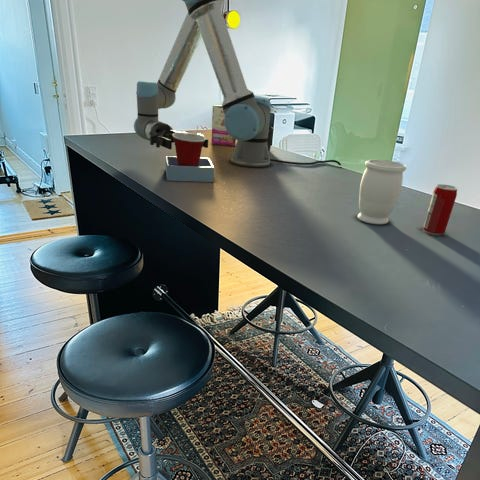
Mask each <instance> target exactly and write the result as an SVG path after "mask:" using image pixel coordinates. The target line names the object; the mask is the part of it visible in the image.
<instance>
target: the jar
mask: <svg viewBox="0 0 480 480" xmlns="http://www.w3.org/2000/svg"><path fill="white" fill-rule="evenodd" d="M364 165H365V169H364V172H363V174H362V176H361V180H360V185H359V197H358V208H359V211H360V212H359V213H358V214H357V218H358V220H359V221H362V222H363V223H366V224H370V225H385V224H388V223H389V221H390V219H389V216H390V214H391V213H392V212H393V210H394V208H395V206H396V203H397V201H398V199H399V196H400V194H401V191H402V185H403V178H404V176H403V173H404V172H405V171H406V170H407V165H406V164H403V163H401V162H397V161H393V160H388V159H367V160H365V161H364Z"/></svg>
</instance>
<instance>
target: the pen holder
mask: <svg viewBox="0 0 480 480" xmlns="http://www.w3.org/2000/svg"><path fill="white" fill-rule="evenodd" d="M273 133H274V127H272V126H269V131H268V141H267V145H268V151H269V152H270V151H271V147H272V140H273Z"/></svg>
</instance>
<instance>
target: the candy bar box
mask: <svg viewBox="0 0 480 480" xmlns="http://www.w3.org/2000/svg"><path fill="white" fill-rule="evenodd" d="M224 119H225V114H224V111H223V108H222V104H221V105H219V104H214V105H212V119H211V145H215V146H216V145H217V146H226V147H235V146H236V143H237V140H236V139H234V138H232V137H231V136H230V135H229V134H228V132H227V130H226V128H225V124H224Z"/></svg>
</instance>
